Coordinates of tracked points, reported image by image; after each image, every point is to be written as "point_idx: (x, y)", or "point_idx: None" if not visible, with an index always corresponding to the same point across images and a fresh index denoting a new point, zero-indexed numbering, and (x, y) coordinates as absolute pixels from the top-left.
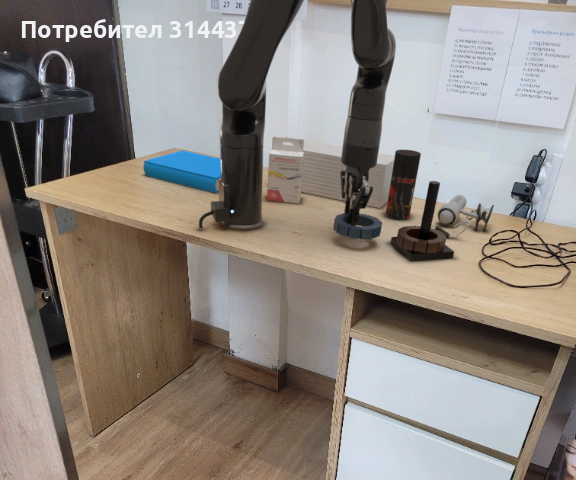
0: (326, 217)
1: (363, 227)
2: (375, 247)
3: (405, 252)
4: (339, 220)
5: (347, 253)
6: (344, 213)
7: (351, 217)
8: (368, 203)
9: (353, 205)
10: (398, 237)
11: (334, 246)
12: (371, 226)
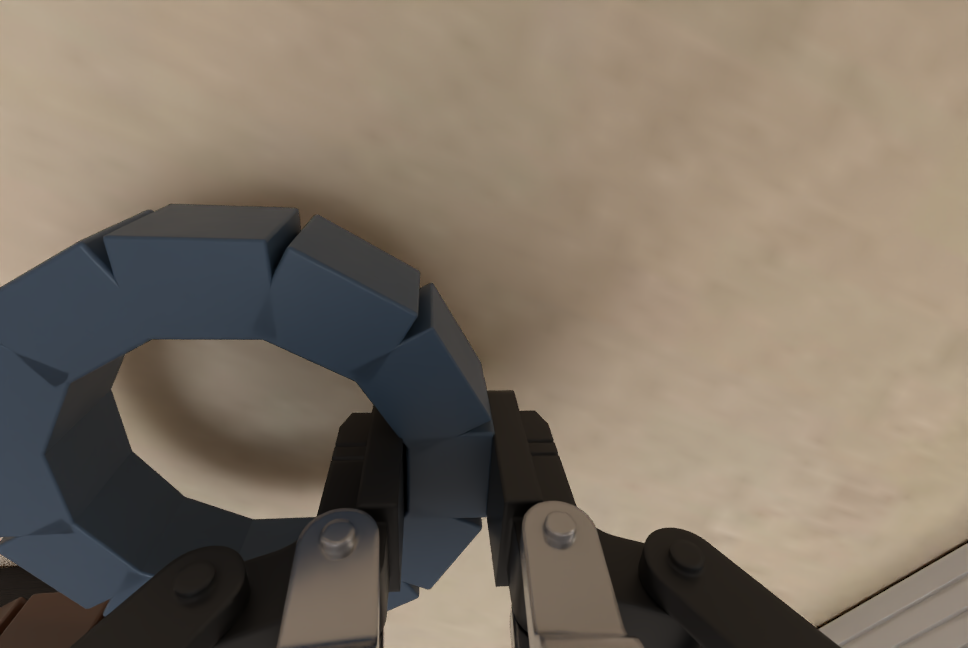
0: (825, 330)
1: (7, 473)
2: (188, 455)
3: (16, 586)
4: (229, 291)
5: (24, 212)
6: (512, 428)
7: (353, 453)
8: (867, 618)
9: (196, 582)
10: (69, 636)
11: (197, 157)
12: (69, 547)
